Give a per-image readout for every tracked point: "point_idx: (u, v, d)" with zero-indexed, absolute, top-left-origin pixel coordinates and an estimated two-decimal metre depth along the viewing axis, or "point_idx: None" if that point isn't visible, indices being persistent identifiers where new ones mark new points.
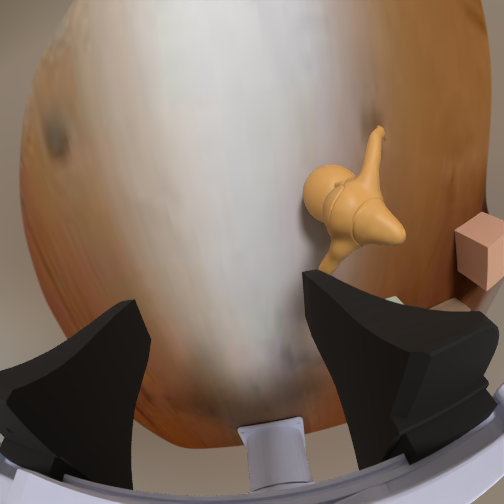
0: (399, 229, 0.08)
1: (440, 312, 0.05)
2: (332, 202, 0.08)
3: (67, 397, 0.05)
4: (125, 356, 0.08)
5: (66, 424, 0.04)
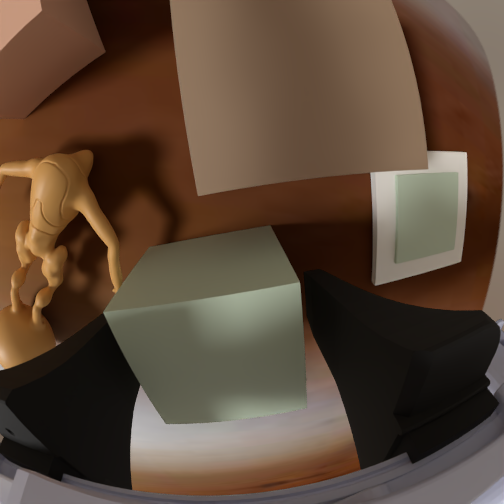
0: None
1: (442, 311, 0.05)
2: (50, 165, 0.06)
3: (66, 397, 0.05)
4: (124, 356, 0.08)
5: (65, 424, 0.04)
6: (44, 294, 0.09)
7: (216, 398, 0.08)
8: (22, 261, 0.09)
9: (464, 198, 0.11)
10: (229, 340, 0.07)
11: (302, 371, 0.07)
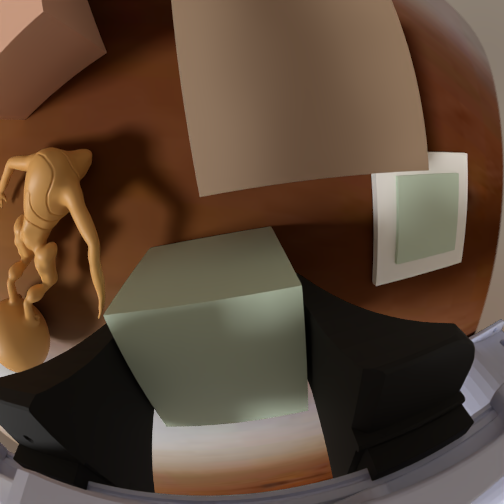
0: None
1: (412, 323, 0.05)
2: (40, 156, 0.06)
3: (90, 399, 0.05)
4: None
5: (90, 428, 0.04)
6: (35, 289, 0.09)
7: (217, 402, 0.07)
8: (20, 254, 0.09)
9: (464, 199, 0.11)
10: (230, 343, 0.07)
11: (303, 374, 0.07)
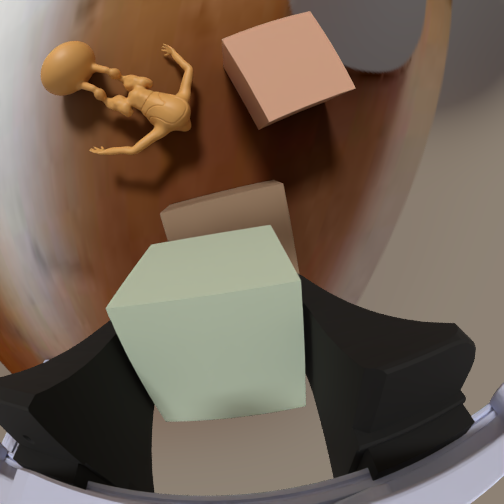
0: None
1: (412, 322, 0.05)
2: (183, 112, 0.13)
3: (90, 399, 0.05)
4: None
5: (90, 428, 0.04)
6: (102, 96, 0.13)
7: (216, 396, 0.08)
8: (125, 78, 0.13)
9: None
10: (230, 337, 0.07)
11: (302, 369, 0.07)
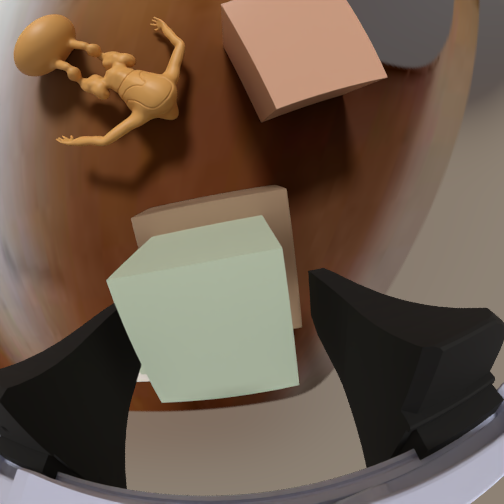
0: None
1: (448, 309, 0.05)
2: (167, 94, 0.10)
3: (60, 396, 0.05)
4: (119, 356, 0.08)
5: (59, 423, 0.04)
6: (76, 75, 0.09)
7: (210, 371, 0.08)
8: (105, 55, 0.10)
9: None
10: (219, 306, 0.07)
11: (291, 342, 0.08)
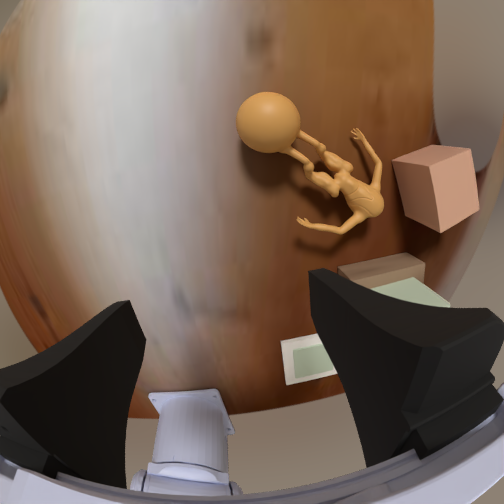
0: None
1: (448, 309, 0.05)
2: None
3: (60, 396, 0.05)
4: (119, 356, 0.08)
5: (59, 423, 0.04)
6: (312, 170, 0.17)
7: None
8: (329, 156, 0.17)
9: (319, 376, 0.26)
10: None
11: None
